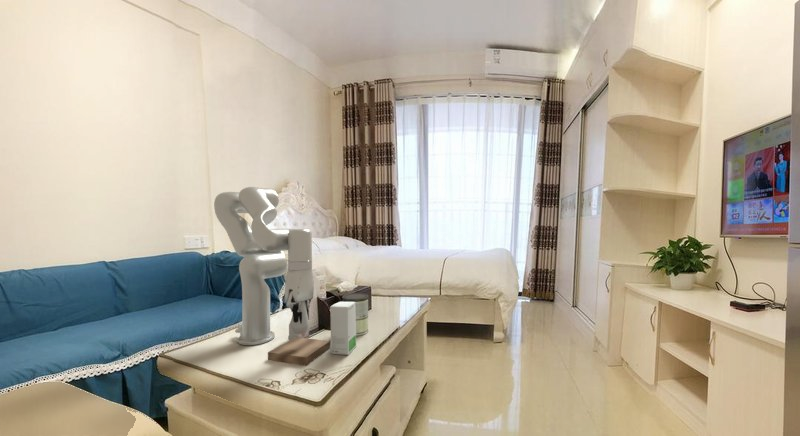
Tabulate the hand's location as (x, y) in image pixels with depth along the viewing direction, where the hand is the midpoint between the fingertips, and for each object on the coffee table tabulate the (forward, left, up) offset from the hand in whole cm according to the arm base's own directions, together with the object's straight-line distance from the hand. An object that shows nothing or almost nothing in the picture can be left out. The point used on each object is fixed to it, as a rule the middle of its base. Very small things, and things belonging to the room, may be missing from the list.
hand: (300, 321), depth 103 cm
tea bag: (-9, +12, -11) cm, 19 cm away
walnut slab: (0, 0, -11) cm, 11 cm away
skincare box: (+12, +7, -11) cm, 17 cm away
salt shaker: (0, 0, -3) cm, 3 cm away
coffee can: (+8, +25, -11) cm, 28 cm away
